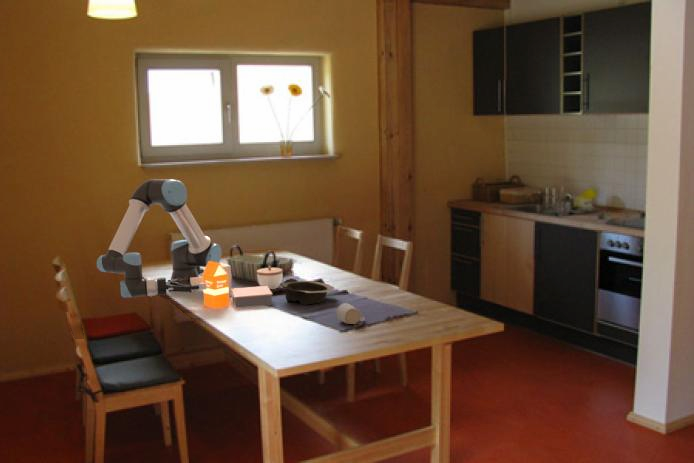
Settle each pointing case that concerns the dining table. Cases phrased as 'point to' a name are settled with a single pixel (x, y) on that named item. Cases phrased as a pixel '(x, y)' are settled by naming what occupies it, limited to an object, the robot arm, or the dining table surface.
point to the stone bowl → (306, 291)
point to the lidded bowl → (270, 277)
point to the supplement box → (228, 271)
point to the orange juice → (215, 286)
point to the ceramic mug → (349, 314)
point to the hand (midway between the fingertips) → (205, 282)
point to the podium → (252, 296)
